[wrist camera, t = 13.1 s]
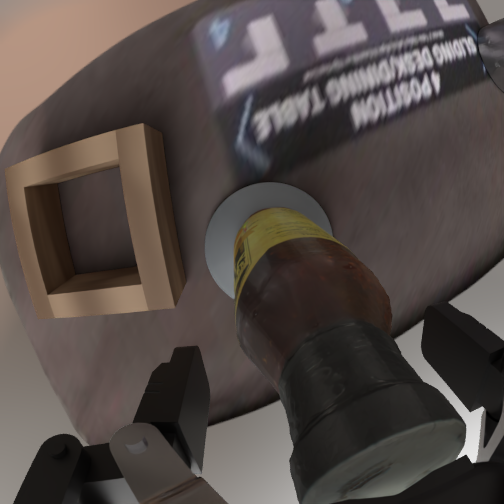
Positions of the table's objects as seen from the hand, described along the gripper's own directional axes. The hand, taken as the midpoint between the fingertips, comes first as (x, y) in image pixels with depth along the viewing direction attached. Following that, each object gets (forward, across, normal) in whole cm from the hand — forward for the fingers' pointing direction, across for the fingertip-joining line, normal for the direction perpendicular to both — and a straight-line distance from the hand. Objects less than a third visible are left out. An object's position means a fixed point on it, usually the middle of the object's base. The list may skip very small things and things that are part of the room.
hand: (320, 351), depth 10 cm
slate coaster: (+15, 0, 0) cm, 15 cm away
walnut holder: (+15, +13, -4) cm, 20 cm away
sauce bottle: (+15, 0, 0) cm, 15 cm away
